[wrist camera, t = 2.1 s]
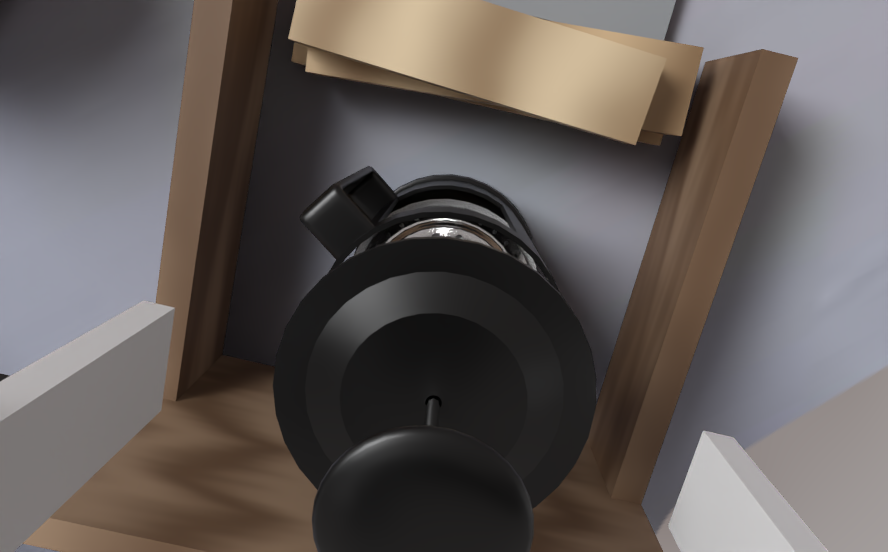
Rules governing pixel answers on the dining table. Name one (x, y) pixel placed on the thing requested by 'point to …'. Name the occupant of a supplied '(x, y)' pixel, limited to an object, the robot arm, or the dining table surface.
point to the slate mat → (601, 14)
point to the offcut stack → (503, 62)
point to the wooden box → (251, 384)
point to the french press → (430, 371)
